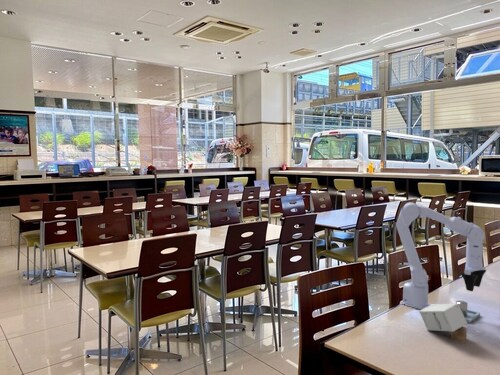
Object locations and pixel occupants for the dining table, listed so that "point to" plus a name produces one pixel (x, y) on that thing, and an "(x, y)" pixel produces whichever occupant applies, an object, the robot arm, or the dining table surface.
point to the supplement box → (443, 317)
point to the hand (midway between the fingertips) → (473, 288)
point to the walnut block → (459, 334)
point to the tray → (471, 316)
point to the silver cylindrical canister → (463, 307)
